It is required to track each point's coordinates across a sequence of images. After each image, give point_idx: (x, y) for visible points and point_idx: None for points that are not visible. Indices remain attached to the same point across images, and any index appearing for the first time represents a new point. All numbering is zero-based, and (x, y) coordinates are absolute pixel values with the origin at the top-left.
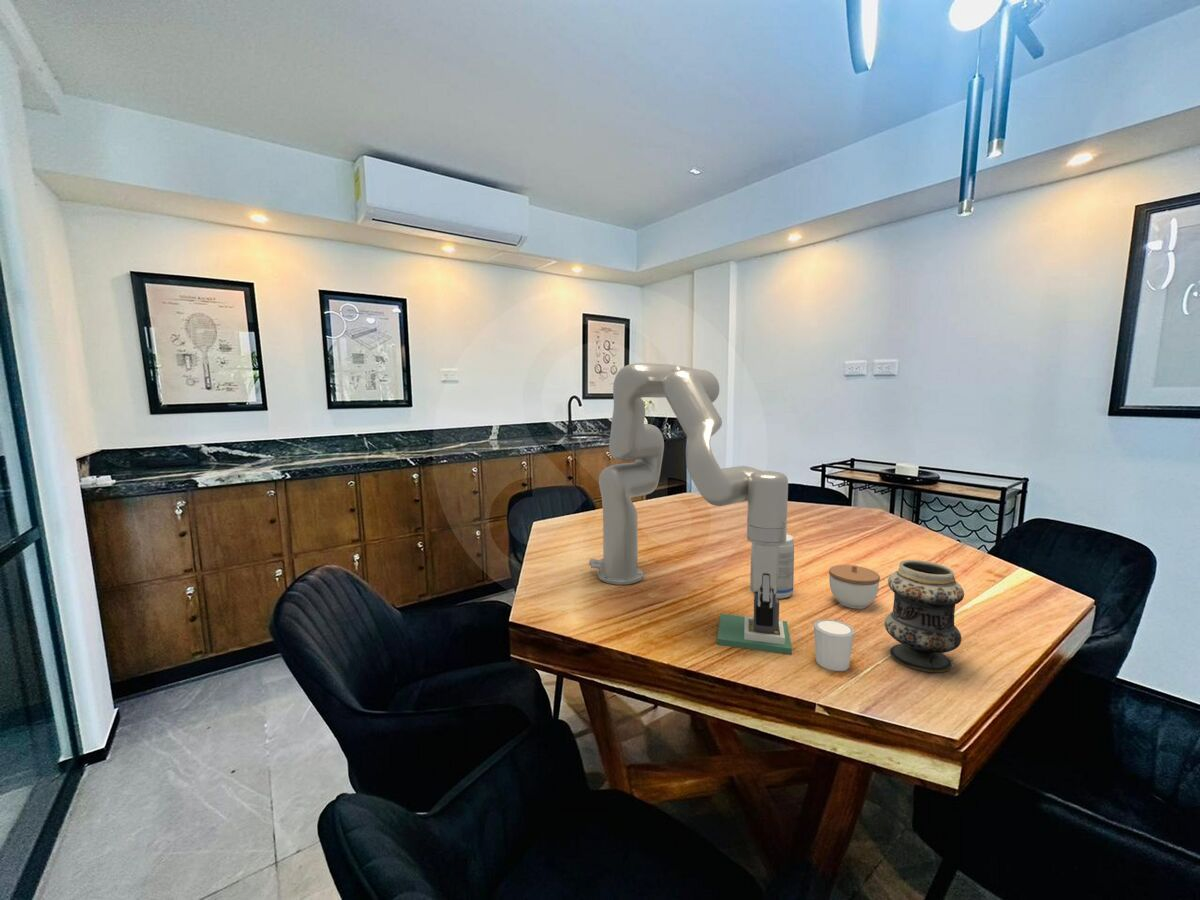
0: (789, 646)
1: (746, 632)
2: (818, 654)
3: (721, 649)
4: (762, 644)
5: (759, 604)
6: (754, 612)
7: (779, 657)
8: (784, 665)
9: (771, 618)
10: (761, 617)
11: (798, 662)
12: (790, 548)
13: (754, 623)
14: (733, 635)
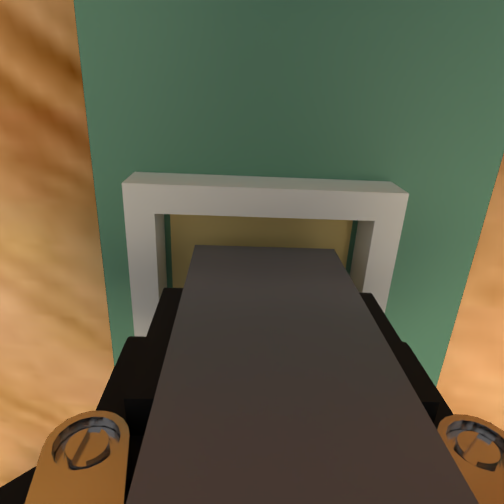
0: None
1: (133, 197)
2: None
3: (29, 2)
4: (108, 275)
5: (43, 466)
6: (175, 324)
7: (77, 332)
8: (8, 346)
9: None
10: (116, 367)
11: (65, 398)
12: None
13: (187, 274)
14: (171, 95)
